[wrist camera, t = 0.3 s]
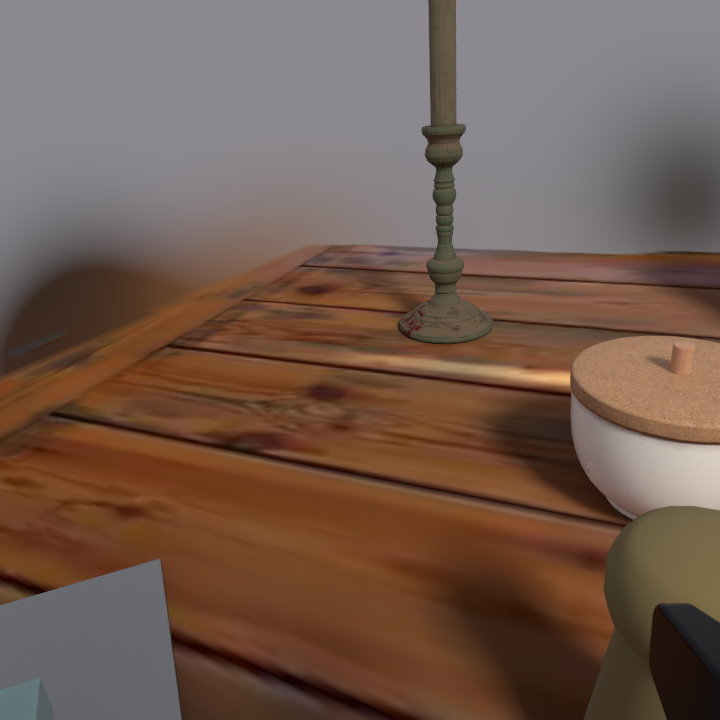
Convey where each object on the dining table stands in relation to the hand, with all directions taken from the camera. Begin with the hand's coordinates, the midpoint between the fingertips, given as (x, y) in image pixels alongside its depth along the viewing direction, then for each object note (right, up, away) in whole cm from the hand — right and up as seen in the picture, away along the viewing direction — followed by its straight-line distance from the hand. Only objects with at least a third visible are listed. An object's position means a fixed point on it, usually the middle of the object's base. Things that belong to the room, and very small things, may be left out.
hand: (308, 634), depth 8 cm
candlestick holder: (+9, +7, +53) cm, 55 cm away
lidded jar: (+18, -4, +27) cm, 33 cm away
